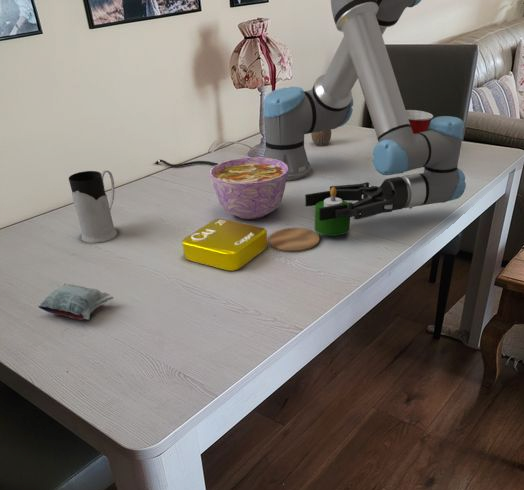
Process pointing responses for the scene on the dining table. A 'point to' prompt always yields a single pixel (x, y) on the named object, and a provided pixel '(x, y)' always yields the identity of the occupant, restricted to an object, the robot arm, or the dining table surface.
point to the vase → (321, 137)
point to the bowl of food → (250, 185)
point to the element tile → (225, 244)
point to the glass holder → (93, 205)
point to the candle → (331, 225)
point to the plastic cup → (418, 120)
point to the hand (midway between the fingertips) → (312, 207)
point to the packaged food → (74, 301)
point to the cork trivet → (294, 239)
